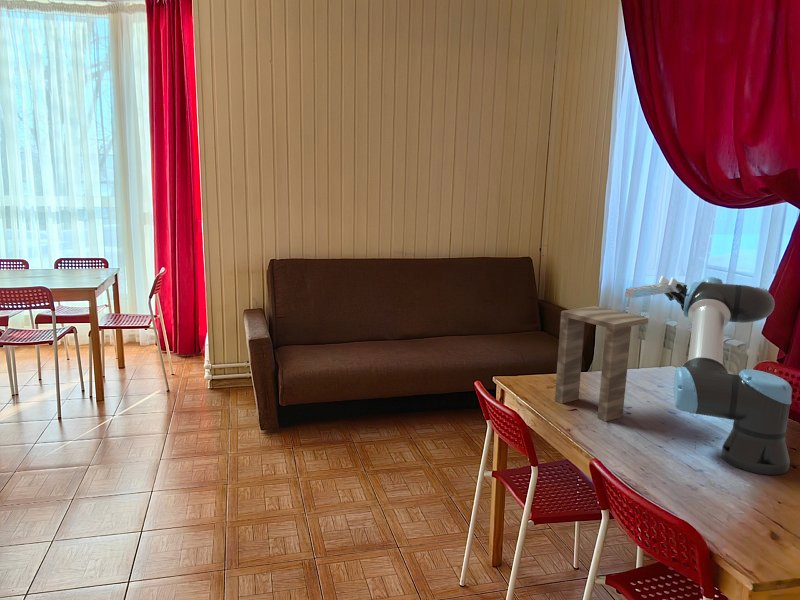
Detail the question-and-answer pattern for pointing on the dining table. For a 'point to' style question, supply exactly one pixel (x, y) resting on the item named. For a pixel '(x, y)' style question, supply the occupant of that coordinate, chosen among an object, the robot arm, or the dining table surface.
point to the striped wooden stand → (612, 356)
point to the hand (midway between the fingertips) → (665, 280)
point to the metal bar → (649, 290)
